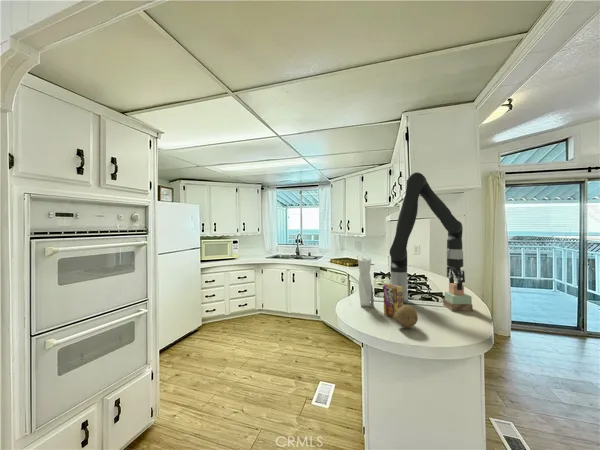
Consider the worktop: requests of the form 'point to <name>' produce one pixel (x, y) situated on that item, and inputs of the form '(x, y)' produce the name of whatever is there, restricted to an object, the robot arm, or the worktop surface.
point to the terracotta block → (455, 289)
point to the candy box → (392, 299)
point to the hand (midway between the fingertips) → (455, 288)
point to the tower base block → (458, 306)
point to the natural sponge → (406, 316)
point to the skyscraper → (365, 283)
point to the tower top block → (458, 298)
